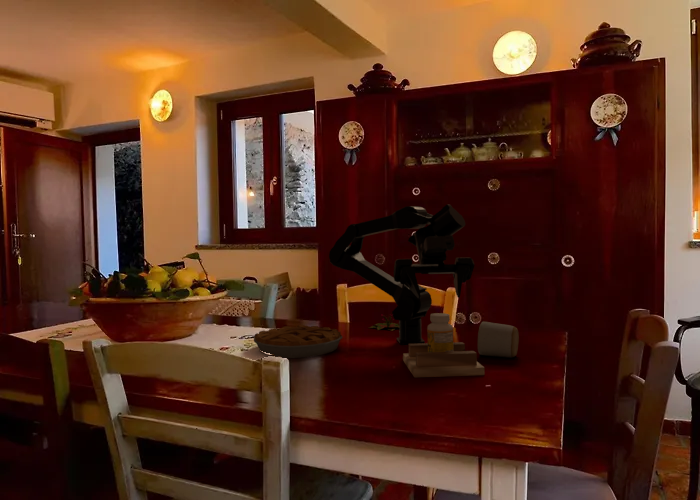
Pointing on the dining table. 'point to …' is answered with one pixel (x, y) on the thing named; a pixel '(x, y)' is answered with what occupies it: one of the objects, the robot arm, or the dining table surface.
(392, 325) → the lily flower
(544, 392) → the dining table surface
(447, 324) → the supplement bottle
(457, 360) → the beech cradle
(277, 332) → the pie
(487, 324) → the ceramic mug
